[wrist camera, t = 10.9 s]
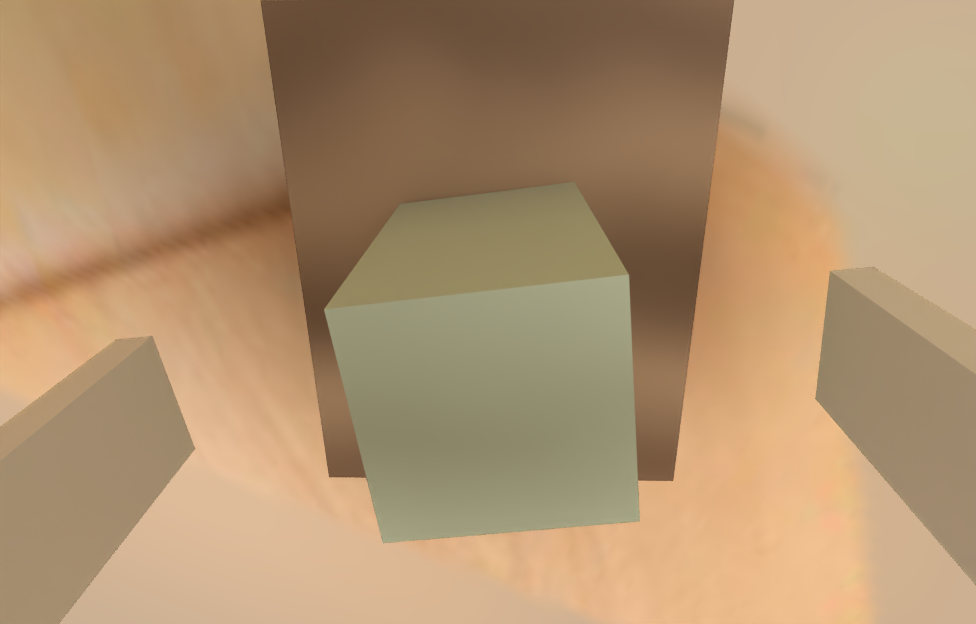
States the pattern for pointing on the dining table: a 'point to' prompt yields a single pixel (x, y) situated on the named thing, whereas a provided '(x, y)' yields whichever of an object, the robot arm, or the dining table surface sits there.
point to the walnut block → (505, 150)
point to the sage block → (491, 367)
